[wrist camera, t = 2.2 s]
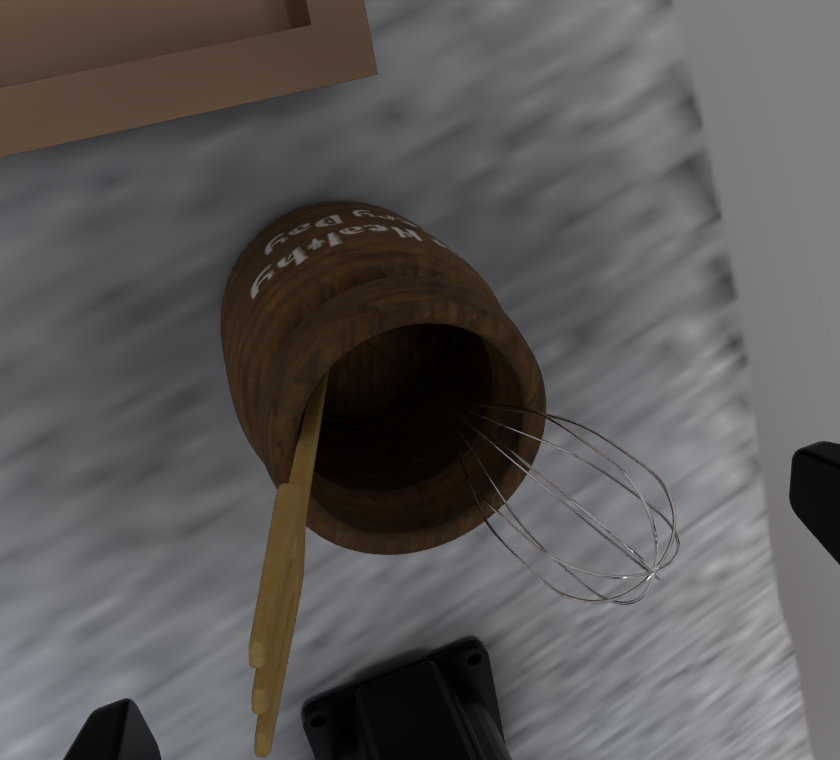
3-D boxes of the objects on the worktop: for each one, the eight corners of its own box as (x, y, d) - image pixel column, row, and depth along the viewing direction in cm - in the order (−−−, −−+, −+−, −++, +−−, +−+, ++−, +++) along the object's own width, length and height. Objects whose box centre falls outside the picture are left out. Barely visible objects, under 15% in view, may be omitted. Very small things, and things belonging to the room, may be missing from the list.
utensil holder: (439, 403, 20) (717, 766, 10) (212, 425, 19) (264, 897, 8) (453, 193, 18) (834, 384, 8) (193, 194, 16) (235, 448, 6)
